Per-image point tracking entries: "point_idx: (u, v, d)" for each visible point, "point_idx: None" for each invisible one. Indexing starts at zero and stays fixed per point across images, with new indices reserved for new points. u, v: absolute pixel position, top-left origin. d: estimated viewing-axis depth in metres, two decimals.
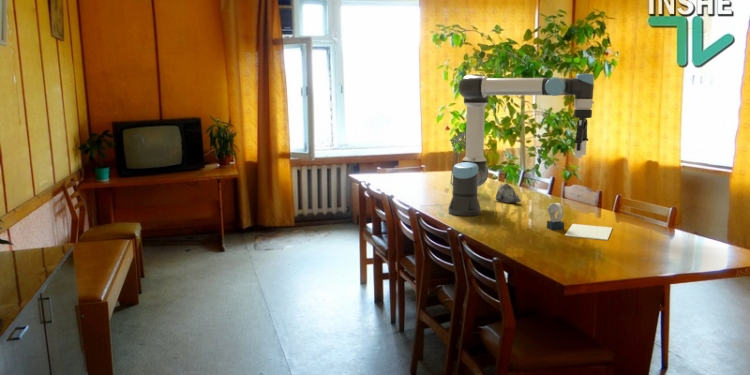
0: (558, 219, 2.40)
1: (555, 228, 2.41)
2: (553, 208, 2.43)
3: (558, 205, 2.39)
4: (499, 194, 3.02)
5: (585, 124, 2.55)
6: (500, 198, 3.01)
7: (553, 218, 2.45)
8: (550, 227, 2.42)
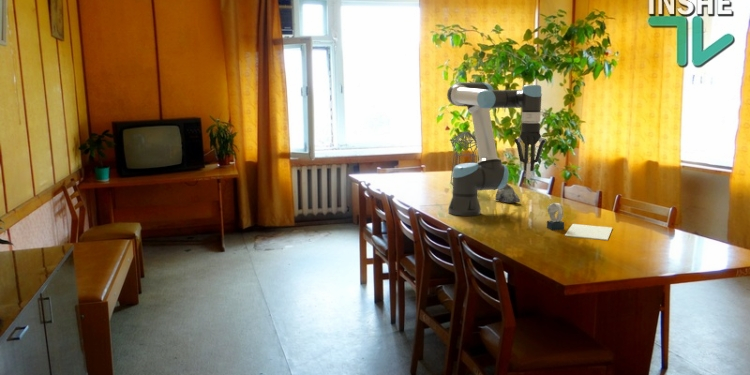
0: (558, 219, 2.40)
1: (555, 228, 2.41)
2: (553, 208, 2.43)
3: (558, 205, 2.39)
4: (499, 194, 3.02)
5: (524, 140, 2.42)
6: (500, 198, 3.01)
7: (553, 218, 2.45)
8: (550, 227, 2.42)
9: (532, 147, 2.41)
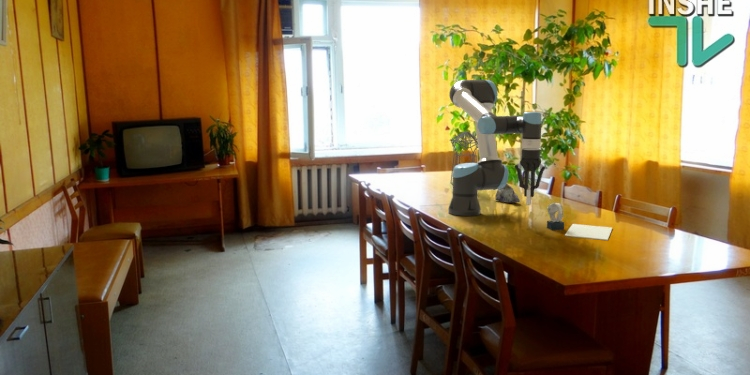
0: (558, 219, 2.40)
1: (555, 228, 2.41)
2: (553, 208, 2.43)
3: (558, 205, 2.39)
4: (499, 194, 3.02)
5: (524, 166, 2.43)
6: (500, 198, 3.01)
7: (553, 218, 2.45)
8: (550, 227, 2.42)
9: (532, 173, 2.43)
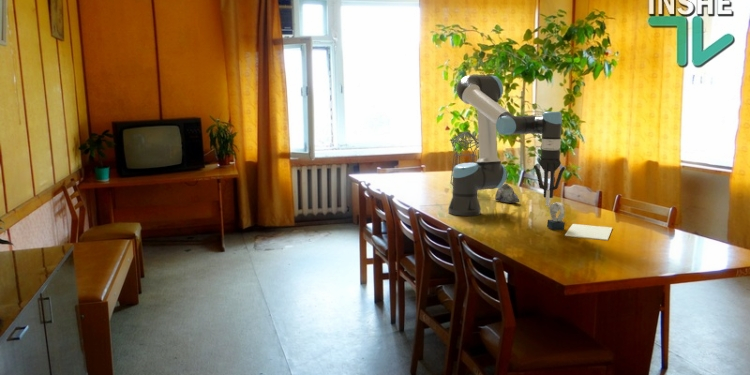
0: (559, 219, 2.39)
1: (555, 228, 2.41)
2: (555, 207, 2.43)
3: (560, 205, 2.39)
4: (498, 194, 3.02)
5: (544, 167, 2.40)
6: (499, 198, 3.01)
7: (554, 217, 2.44)
8: (550, 226, 2.41)
9: (552, 174, 2.39)
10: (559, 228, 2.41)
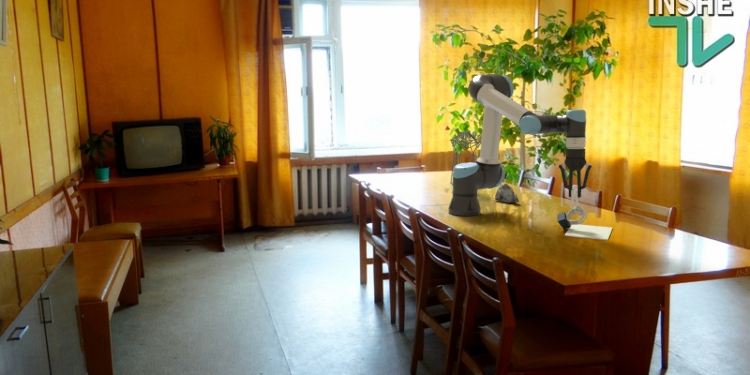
0: (571, 222, 2.37)
1: (561, 223, 2.39)
2: (579, 211, 2.39)
3: (584, 216, 2.35)
4: (498, 194, 3.02)
5: (569, 166, 2.35)
6: (499, 198, 3.01)
7: (569, 215, 2.41)
8: (559, 218, 2.40)
9: (578, 173, 2.34)
10: (562, 226, 2.40)
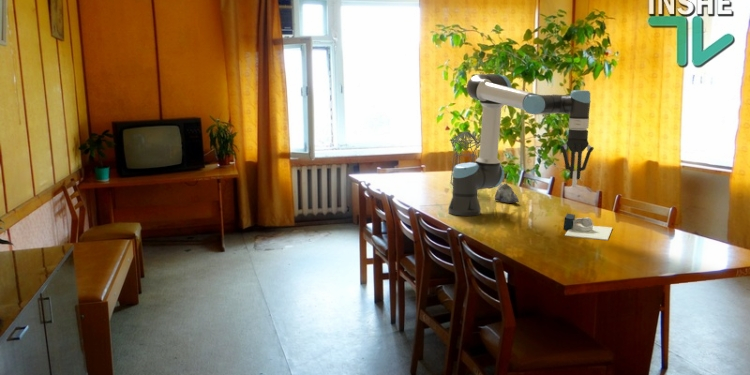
0: (575, 225, 2.38)
1: (566, 221, 2.40)
2: (587, 223, 2.40)
3: (590, 228, 2.36)
4: (498, 194, 3.02)
5: (571, 147, 2.34)
6: (499, 198, 3.02)
7: (576, 221, 2.42)
8: (567, 216, 2.40)
9: (579, 155, 2.33)
10: (565, 225, 2.41)
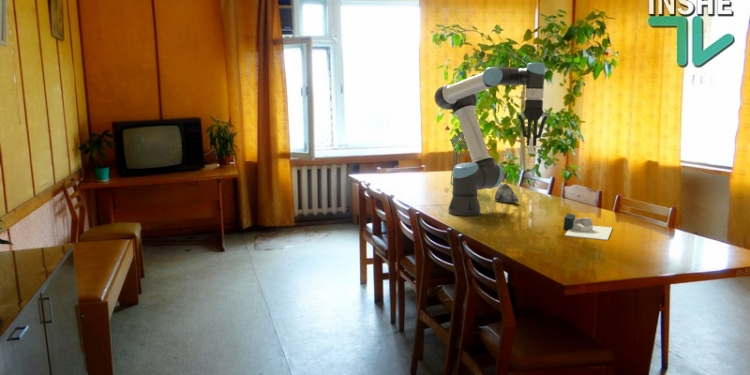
0: (575, 225, 2.38)
1: (566, 221, 2.40)
2: (587, 223, 2.40)
3: (590, 228, 2.36)
4: (498, 194, 3.02)
5: (527, 116, 2.51)
6: (499, 198, 3.02)
7: (576, 221, 2.42)
8: (567, 216, 2.40)
9: (535, 123, 2.51)
10: (565, 225, 2.41)
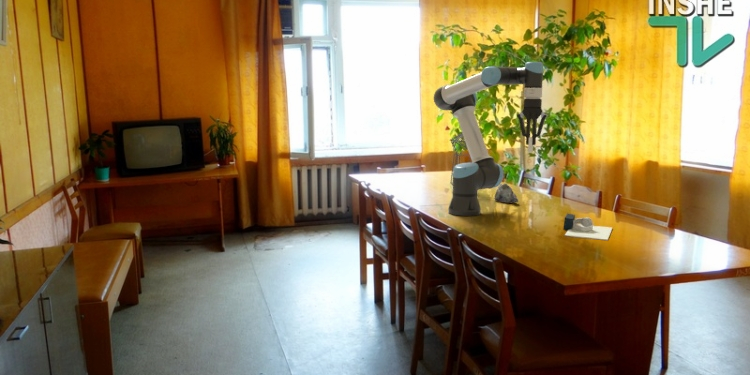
0: (575, 225, 2.38)
1: (566, 221, 2.40)
2: (587, 223, 2.40)
3: (590, 228, 2.36)
4: (498, 194, 3.02)
5: (526, 115, 2.52)
6: (499, 198, 3.02)
7: (576, 221, 2.42)
8: (567, 216, 2.40)
9: (534, 122, 2.51)
10: (565, 225, 2.41)
